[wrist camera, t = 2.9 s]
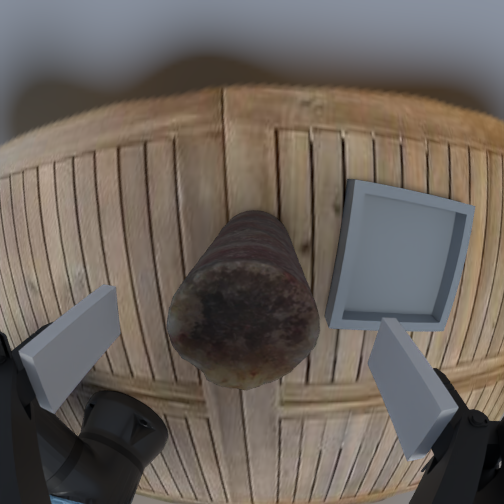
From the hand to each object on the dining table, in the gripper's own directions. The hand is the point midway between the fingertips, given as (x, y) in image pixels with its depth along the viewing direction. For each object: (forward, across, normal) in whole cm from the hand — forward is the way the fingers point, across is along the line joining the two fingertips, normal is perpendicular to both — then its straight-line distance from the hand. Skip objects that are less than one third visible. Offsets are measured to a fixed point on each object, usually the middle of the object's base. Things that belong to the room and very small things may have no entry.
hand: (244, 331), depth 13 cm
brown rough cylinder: (+19, 0, 0) cm, 19 cm away
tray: (+19, +17, 0) cm, 25 cm away
